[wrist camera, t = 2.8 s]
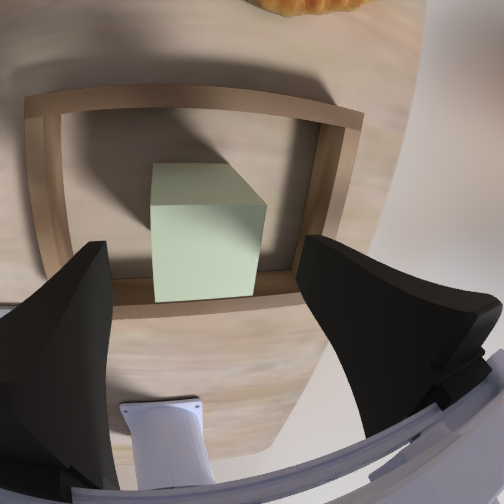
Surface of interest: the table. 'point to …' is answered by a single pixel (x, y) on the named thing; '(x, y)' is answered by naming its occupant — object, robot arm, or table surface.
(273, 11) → the pastry
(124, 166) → the table surface
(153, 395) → the table surface
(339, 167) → the box
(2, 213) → the table surface
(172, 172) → the wood block
